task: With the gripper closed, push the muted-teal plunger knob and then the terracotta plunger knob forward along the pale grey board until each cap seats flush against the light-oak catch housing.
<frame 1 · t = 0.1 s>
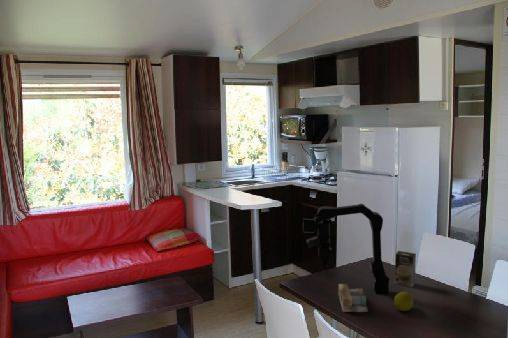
hand: (323, 263, 222), 15 cm above the table, fingers open, 9 cm apart
coffee box: (404, 284, 231), on the table
terracotta knob: (352, 292, 212), point 4 cm above the table, slide at 0.0 cm
mount: (352, 303, 209), on the table
lemon: (403, 310, 201), on the table
teal knob: (354, 299, 205), point 4 cm above the table, slide at 0.0 cm
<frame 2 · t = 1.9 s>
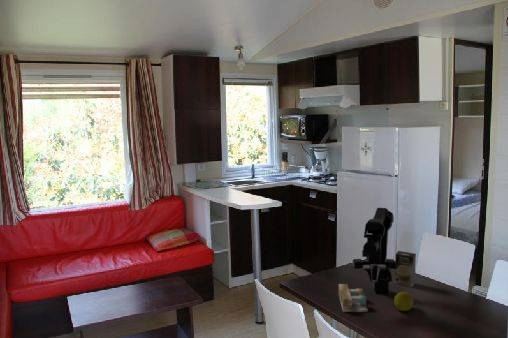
hand: (374, 282, 203), 12 cm above the table, fingers open, 3 cm apart
nothing on the table moved.
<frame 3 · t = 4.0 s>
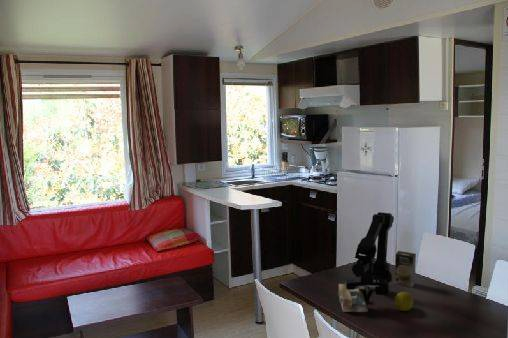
hand: (366, 302, 204), 2 cm above the table, fingers closed
teal knob: (350, 299, 205), point 4 cm above the table, slide at 1.6 cm, touching gripper
everything else where it was.
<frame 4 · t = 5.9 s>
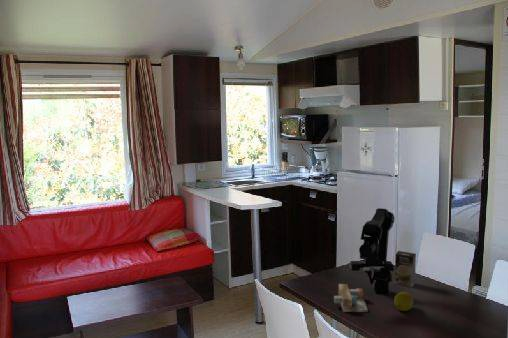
hand: (371, 283, 203), 11 cm above the table, fingers closed
teal knob: (345, 299, 205), point 4 cm above the table, slide at 4.2 cm
everything else where it was.
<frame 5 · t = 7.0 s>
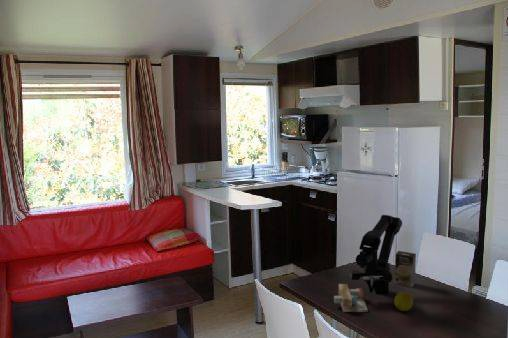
hand: (370, 292, 212), 4 cm above the table, fingers closed
nothing on the table moved.
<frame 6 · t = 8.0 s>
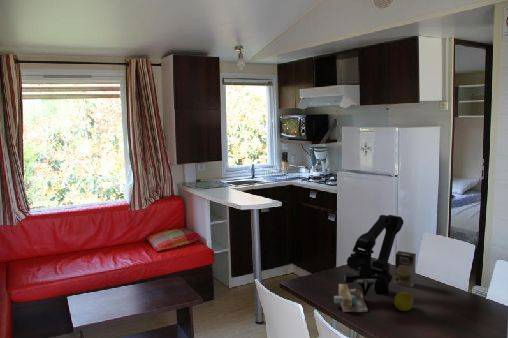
hand: (364, 295, 212), 2 cm above the table, fingers closed
terracotta knob: (349, 292, 213), point 4 cm above the table, slide at 1.1 cm, touching gripper
everything else where it was.
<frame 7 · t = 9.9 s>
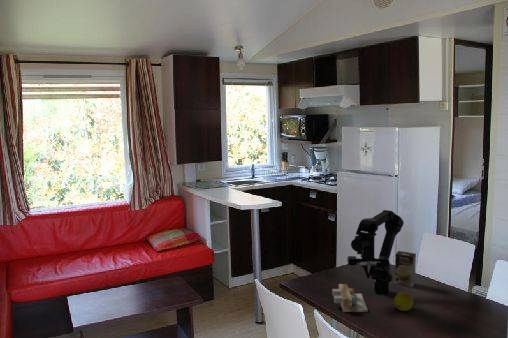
hand: (367, 278, 211), 11 cm above the table, fingers closed
terracotta knob: (343, 292, 213), point 4 cm above the table, slide at 4.2 cm
everything else where it was.
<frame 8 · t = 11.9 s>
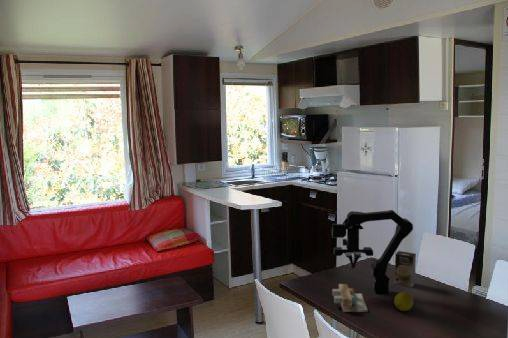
hand: (353, 268, 221), 12 cm above the table, fingers closed
nothing on the table moved.
at the end: teal knob slide at 4.2 cm; terracotta knob slide at 4.2 cm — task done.
